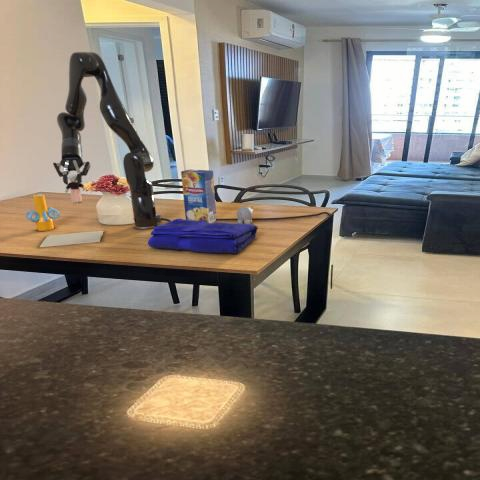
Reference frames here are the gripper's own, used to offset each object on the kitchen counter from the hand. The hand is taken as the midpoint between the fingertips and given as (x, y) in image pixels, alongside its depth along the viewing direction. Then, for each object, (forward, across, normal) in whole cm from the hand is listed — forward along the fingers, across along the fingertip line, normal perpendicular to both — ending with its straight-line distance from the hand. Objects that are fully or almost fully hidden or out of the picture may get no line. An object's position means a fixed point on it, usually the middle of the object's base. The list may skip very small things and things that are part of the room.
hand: (72, 183), depth 159 cm
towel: (+41, +48, -11) cm, 64 cm away
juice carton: (+18, +50, +12) cm, 54 cm away
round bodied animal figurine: (+24, +70, +6) cm, 74 cm away
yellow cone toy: (+11, -14, +18) cm, 25 cm away
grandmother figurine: (+5, 0, +8) cm, 10 cm away
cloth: (+24, -1, +5) cm, 25 cm away
